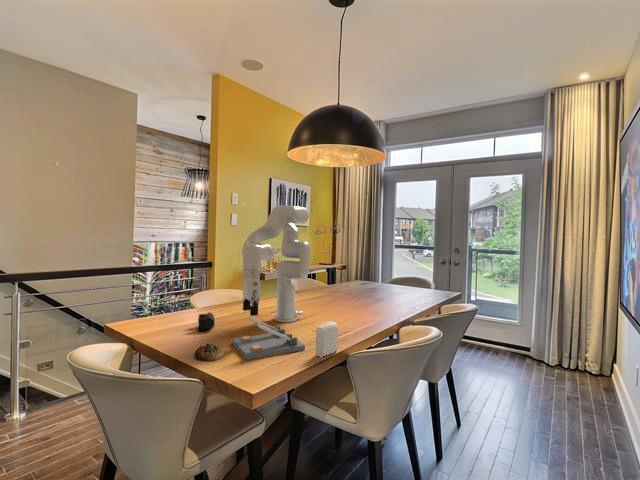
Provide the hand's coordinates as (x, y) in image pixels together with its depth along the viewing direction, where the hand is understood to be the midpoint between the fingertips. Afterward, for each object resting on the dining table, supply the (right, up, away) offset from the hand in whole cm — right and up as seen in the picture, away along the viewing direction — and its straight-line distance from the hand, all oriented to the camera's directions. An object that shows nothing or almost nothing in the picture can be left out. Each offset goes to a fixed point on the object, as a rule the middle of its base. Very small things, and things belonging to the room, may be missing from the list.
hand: (250, 312), depth 144 cm
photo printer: (+33, -14, -12) cm, 37 cm away
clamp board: (+8, -13, -6) cm, 16 cm away
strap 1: (+6, -6, -1) cm, 9 cm away
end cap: (-24, -11, +15) cm, 30 cm away
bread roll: (-11, -13, -18) cm, 25 cm away
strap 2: (+12, -6, -11) cm, 18 cm away
